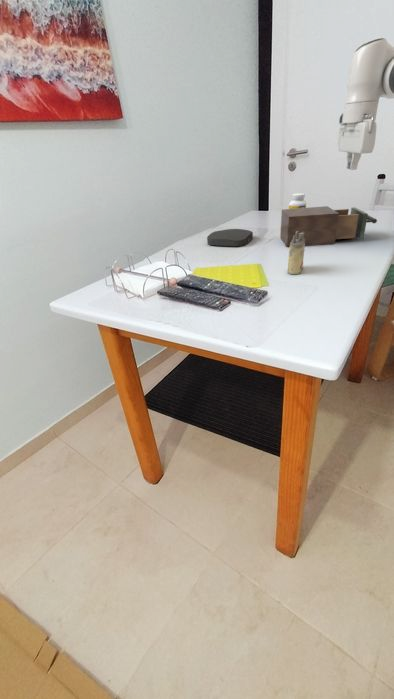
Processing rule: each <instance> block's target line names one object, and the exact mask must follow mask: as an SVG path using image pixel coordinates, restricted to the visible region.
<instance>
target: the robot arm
mask: <svg viewBox="0 0 394 699" xmlns="http://www.w3.org/2000/svg"><path fill="white" fill-rule="evenodd" d="M346 86H347V96H346V99H345V102H344V108H343V111H342V113H341V114H340V116H339V118H338V125H339V130H338V139H337V140H338V141H337V150H338V152H341V153H342V152H343V153H346V169H347V170H351V171H356V170H358V166H359V162H360V160H361V157H362V154H372V153H373V152H374V149H375V145H376V144H375V143H376V137H377V136H376V135H377V122H376V119H377V114H378V107H379V101H380V98H386V99H392V100H393V99H394V46H393V45H392V44H390V43H389V42H388V40H387V39H386V38H385V37H384V38H383V37H381V38H377V39H372V40H370V41H367V42H366V43H363V44H361V45H360V46H359V47H357V49H356V50H355V51H354V53H353V55H352V58H351V62H350V67H349V71H348V78H347V84H346Z"/></svg>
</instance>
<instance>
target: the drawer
mask: <svg viewBox="0 0 394 699" xmlns="http://www.w3.org/2000/svg"><path fill="white" fill-rule="evenodd" d="M333 210H334V211H336V212H338V213H339V218H338V225H337V232H336V239H335V240H343V239H344V240H345V239H359V240H364V237H365V232H366V226H367V223H368V224H369V223H371V224H377V222H378V219H377V218H374V217H373V216H371V215H369V213H367V212H365V211H363V210H361V209H359V208H357V207H354V206H353V207H351V208H350V209H348V208H341V209H340V208H339V209H333ZM349 211H350V214H349Z"/></svg>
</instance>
